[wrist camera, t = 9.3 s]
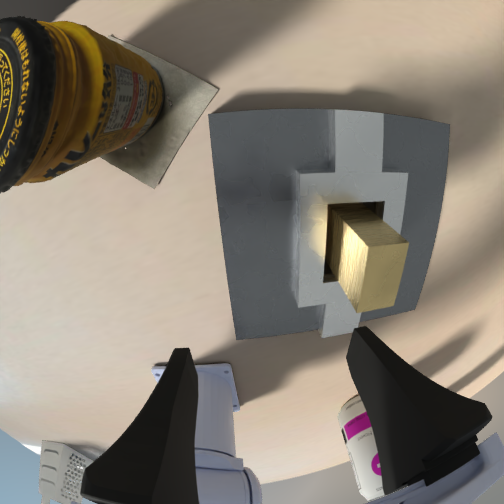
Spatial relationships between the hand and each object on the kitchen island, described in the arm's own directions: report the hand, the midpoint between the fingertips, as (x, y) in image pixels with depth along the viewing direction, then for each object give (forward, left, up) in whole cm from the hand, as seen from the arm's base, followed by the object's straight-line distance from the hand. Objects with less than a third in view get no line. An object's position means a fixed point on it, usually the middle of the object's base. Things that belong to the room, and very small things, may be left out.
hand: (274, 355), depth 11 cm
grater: (-50, +49, -10) cm, 71 cm away
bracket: (+2, -6, -7) cm, 10 cm away
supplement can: (-26, -14, -10) cm, 31 cm away
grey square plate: (+2, -6, -9) cm, 11 cm away
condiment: (+11, +7, -10) cm, 16 cm away
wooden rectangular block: (+2, -6, -9) cm, 11 cm away
